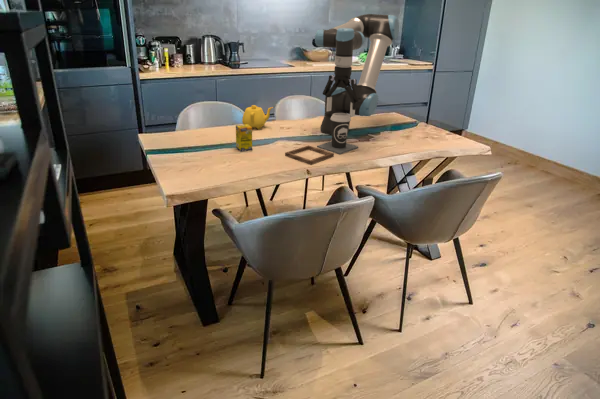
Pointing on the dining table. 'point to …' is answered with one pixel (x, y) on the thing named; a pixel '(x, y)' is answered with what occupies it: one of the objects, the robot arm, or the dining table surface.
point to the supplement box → (243, 137)
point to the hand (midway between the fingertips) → (340, 113)
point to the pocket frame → (291, 155)
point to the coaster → (329, 147)
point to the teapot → (255, 116)
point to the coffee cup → (340, 129)
